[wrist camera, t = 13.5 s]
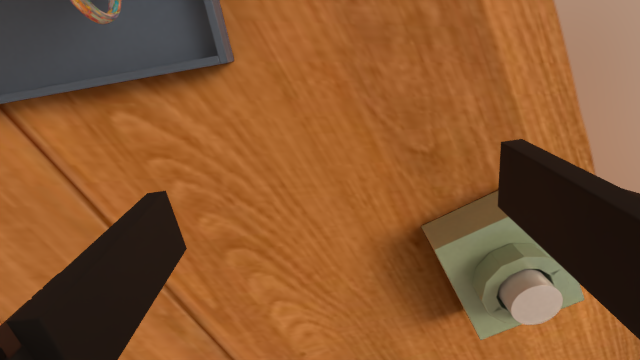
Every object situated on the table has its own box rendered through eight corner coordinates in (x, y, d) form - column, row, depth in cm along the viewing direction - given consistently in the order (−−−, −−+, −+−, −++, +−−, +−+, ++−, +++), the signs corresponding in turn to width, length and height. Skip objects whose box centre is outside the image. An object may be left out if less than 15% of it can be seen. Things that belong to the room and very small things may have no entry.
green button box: (556, 272, 35) (602, 316, 29) (464, 310, 37) (490, 358, 31) (522, 178, 31) (568, 209, 25) (420, 226, 32) (442, 264, 27)
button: (552, 295, 29) (568, 313, 27) (506, 313, 30) (519, 332, 28) (539, 261, 27) (555, 277, 26) (491, 281, 28) (504, 298, 26)
